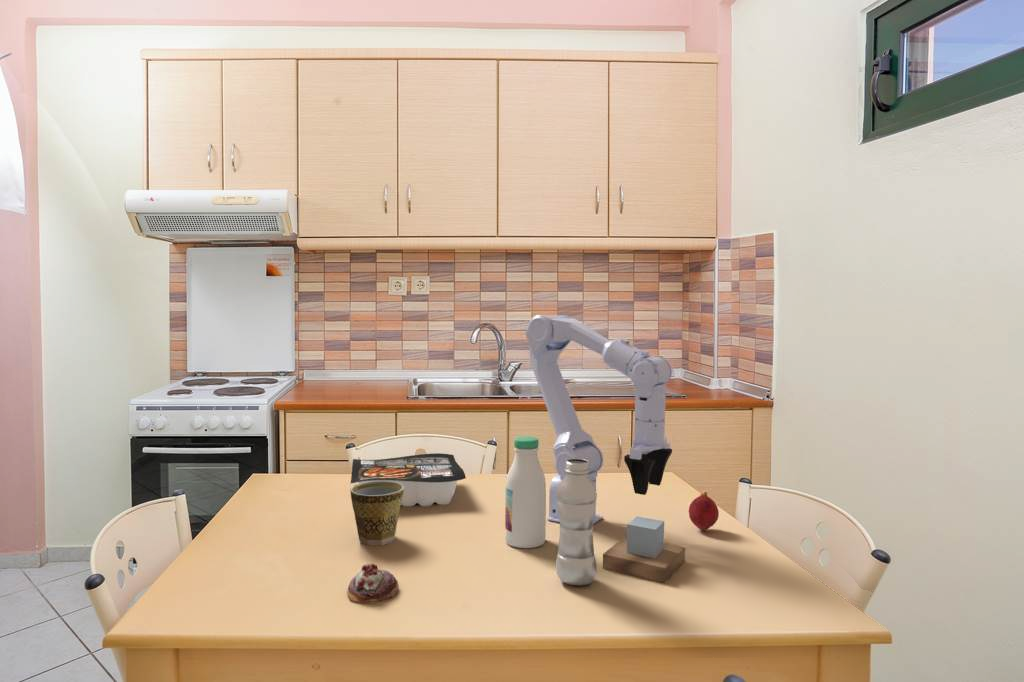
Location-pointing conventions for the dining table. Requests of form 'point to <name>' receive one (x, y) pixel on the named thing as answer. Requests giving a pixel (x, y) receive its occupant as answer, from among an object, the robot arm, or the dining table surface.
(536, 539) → the milk bottle
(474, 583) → the dining table surface
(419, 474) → the food packaging
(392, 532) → the ceramic cup
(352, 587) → the pastry
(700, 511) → the onion
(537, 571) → the dining table surface
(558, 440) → the robot arm
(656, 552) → the cube
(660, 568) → the base
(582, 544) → the plastic bottle
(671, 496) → the dining table surface
